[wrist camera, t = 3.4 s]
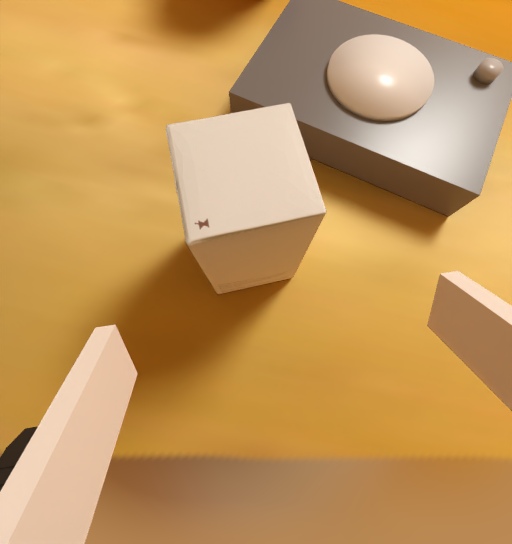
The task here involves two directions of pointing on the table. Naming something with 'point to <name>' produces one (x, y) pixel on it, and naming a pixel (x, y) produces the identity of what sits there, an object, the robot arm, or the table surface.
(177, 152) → the supplement box
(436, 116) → the grey base plate
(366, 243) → the table surface
